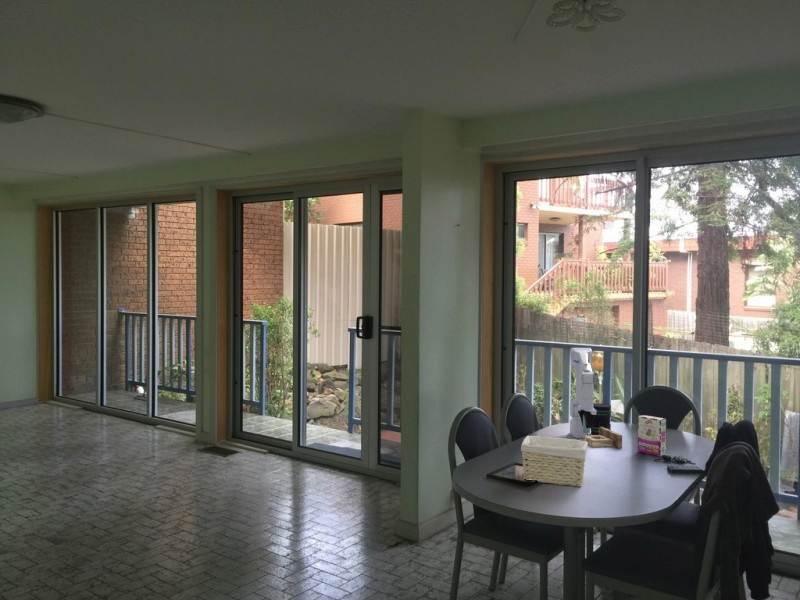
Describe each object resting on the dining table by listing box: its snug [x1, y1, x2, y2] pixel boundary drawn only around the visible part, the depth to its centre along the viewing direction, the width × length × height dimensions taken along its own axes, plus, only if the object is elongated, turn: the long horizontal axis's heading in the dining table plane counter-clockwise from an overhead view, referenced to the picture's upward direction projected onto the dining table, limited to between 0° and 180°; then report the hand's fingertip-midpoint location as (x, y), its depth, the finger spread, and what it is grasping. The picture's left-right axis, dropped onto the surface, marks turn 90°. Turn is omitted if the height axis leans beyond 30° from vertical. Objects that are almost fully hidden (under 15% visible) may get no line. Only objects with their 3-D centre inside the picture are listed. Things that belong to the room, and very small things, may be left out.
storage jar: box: [590, 402, 612, 435], centre depth 319 cm, size 10×10×15 cm
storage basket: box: [520, 435, 589, 488], centre depth 243 cm, size 24×16×15 cm
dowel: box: [583, 415, 591, 434], centre depth 293 cm, size 3×3×8 cm
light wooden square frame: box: [582, 434, 614, 448], centre depth 299 cm, size 10×10×3 cm
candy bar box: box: [637, 414, 667, 457], centre depth 282 cm, size 11×5×16 cm, turn 37°
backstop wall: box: [599, 427, 623, 449], centre depth 300 cm, size 18×2×6 cm, turn 11°
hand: (586, 427), depth 293 cm, fingers closed on dowel, 3 cm apart
